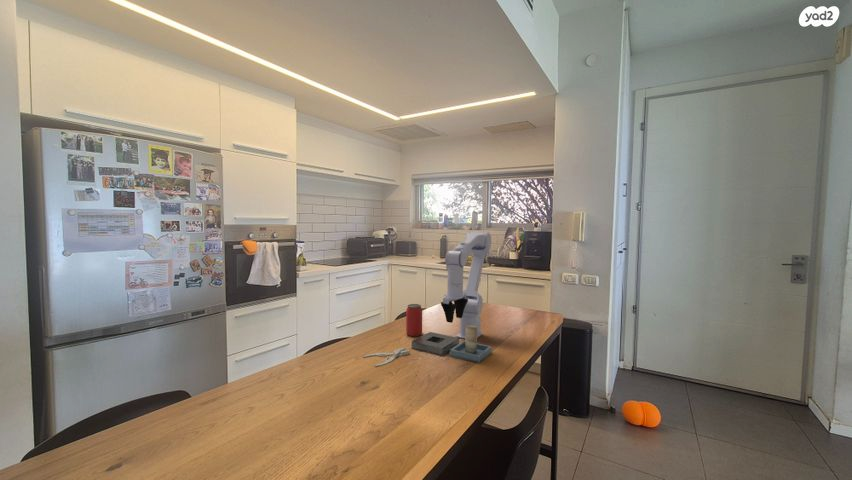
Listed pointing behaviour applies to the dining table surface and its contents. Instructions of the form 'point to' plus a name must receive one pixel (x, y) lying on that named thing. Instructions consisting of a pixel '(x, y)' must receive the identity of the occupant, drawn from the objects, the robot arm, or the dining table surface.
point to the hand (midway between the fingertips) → (454, 319)
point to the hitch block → (435, 343)
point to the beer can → (414, 320)
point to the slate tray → (478, 357)
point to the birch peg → (471, 339)
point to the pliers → (396, 353)
